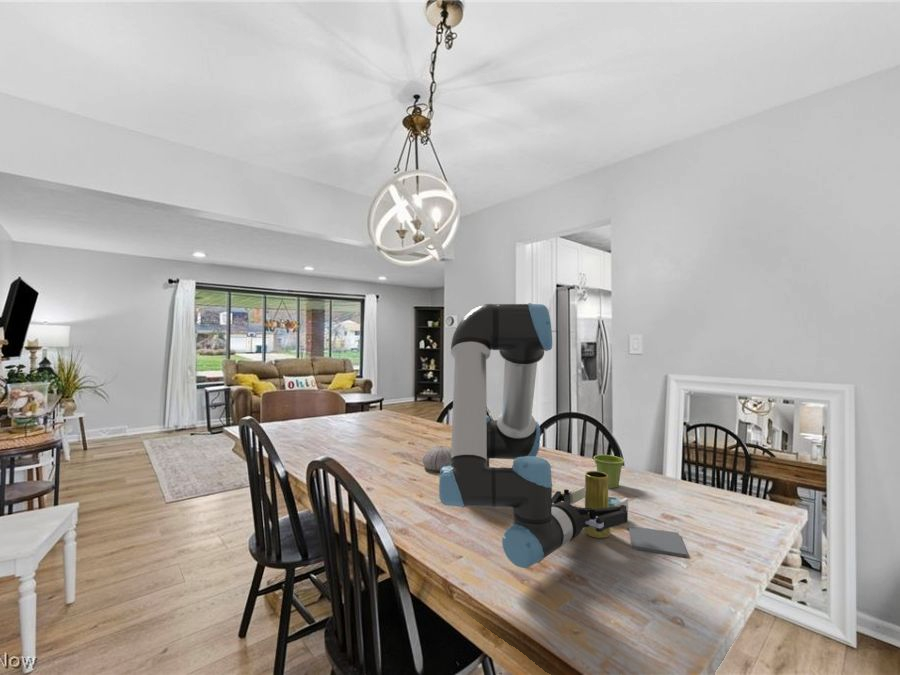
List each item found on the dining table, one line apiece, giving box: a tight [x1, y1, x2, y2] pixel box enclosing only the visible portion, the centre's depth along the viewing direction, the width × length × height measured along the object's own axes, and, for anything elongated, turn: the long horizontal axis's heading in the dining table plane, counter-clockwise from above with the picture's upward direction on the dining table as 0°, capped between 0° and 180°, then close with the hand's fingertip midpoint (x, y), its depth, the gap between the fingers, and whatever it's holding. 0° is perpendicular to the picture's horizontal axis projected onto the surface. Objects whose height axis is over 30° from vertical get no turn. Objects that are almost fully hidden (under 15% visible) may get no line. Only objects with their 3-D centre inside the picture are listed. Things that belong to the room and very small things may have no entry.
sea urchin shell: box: [422, 445, 451, 472], centre depth 153 cm, size 13×14×8 cm
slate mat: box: [628, 525, 688, 558], centre depth 95 cm, size 11×11×1 cm
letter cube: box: [608, 496, 620, 508], centre depth 108 cm, size 5×5×5 cm
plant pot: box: [593, 454, 625, 489], centre depth 134 cm, size 9×9×9 cm
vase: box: [583, 470, 611, 539], centre depth 100 cm, size 6×6×14 cm
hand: (604, 497), depth 103 cm, fingers open, 10 cm apart
